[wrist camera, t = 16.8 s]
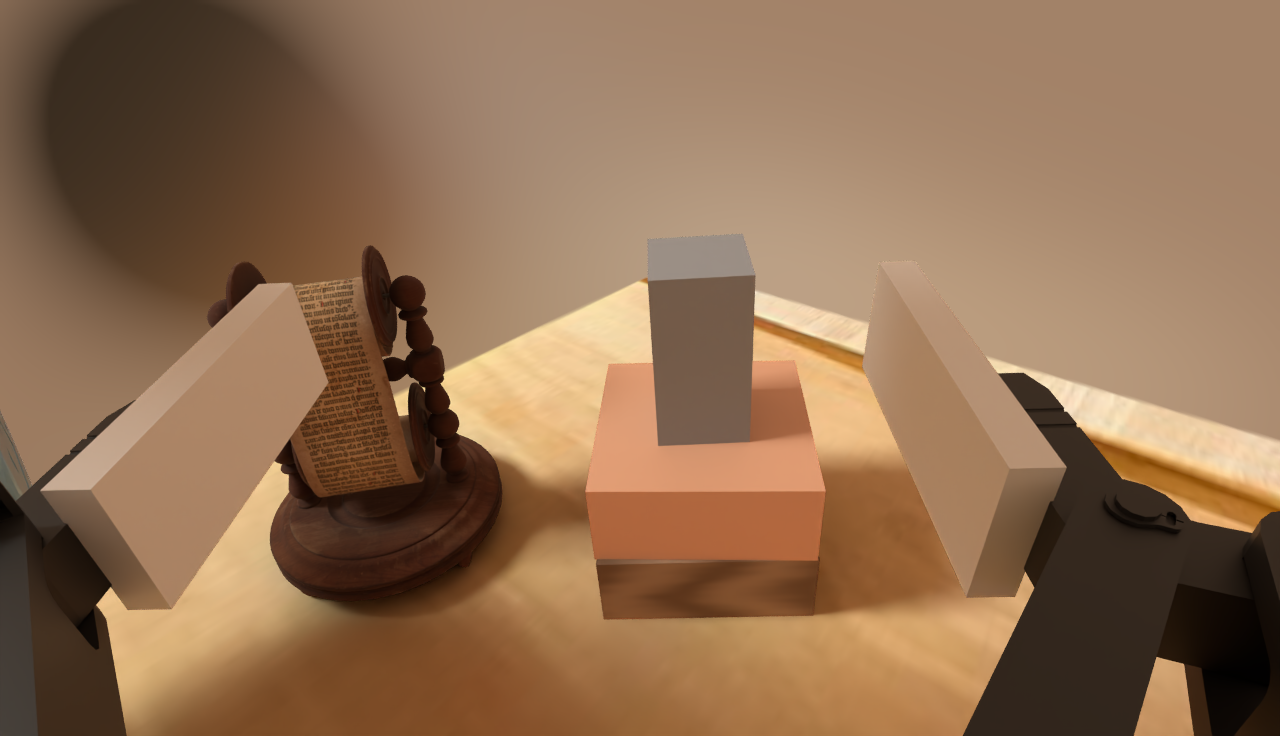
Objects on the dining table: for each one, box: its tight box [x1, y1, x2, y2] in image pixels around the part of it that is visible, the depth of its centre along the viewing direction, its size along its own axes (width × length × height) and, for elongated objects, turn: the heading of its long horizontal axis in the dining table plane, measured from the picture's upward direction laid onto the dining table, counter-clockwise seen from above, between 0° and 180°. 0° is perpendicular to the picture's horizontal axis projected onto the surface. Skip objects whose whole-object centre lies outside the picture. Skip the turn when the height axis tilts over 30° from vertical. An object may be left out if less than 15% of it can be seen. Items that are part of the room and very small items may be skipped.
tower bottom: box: [596, 555, 820, 619], centre depth 43 cm, size 12×12×5 cm
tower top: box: [585, 361, 826, 561], centre depth 41 cm, size 12×12×5 cm
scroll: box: [207, 246, 502, 601], centre depth 42 cm, size 15×15×20 cm
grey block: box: [648, 234, 755, 446], centre depth 37 cm, size 5×5×10 cm
